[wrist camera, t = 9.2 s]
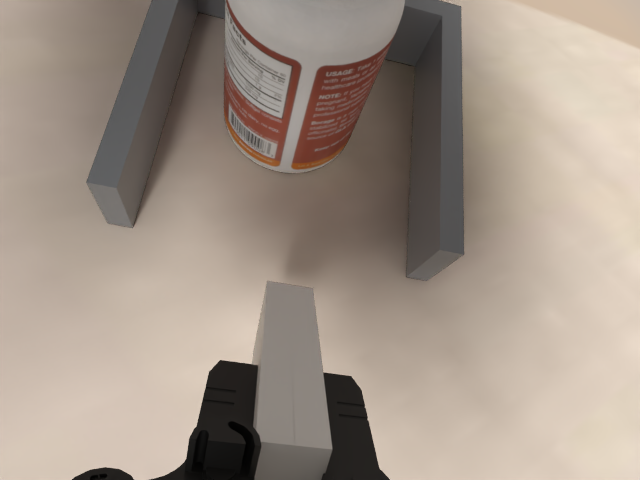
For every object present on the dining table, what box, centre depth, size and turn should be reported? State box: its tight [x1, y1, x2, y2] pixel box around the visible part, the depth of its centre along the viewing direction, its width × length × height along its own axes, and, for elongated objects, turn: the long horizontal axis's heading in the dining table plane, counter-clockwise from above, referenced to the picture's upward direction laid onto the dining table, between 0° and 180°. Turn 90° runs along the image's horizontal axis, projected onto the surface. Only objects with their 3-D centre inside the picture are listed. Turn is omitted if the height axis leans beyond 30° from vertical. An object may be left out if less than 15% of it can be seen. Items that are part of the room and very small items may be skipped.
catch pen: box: [86, 0, 464, 281], centre depth 21 cm, size 14×14×4 cm
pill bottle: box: [224, 0, 405, 173], centre depth 18 cm, size 6×6×11 cm
